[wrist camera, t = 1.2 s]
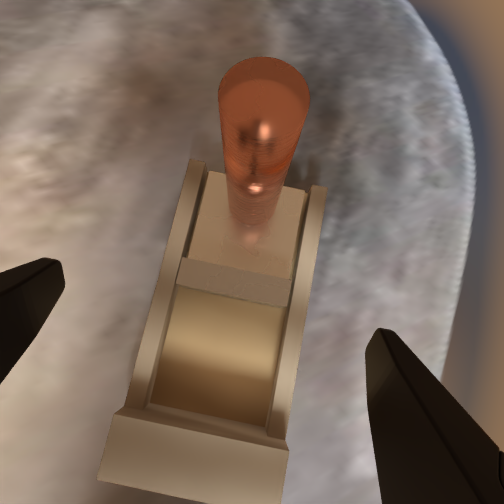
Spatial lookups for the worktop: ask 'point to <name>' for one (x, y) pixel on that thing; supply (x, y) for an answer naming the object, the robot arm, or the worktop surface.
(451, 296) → the worktop surface
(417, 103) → the worktop surface
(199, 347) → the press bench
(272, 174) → the knobbed slide block
